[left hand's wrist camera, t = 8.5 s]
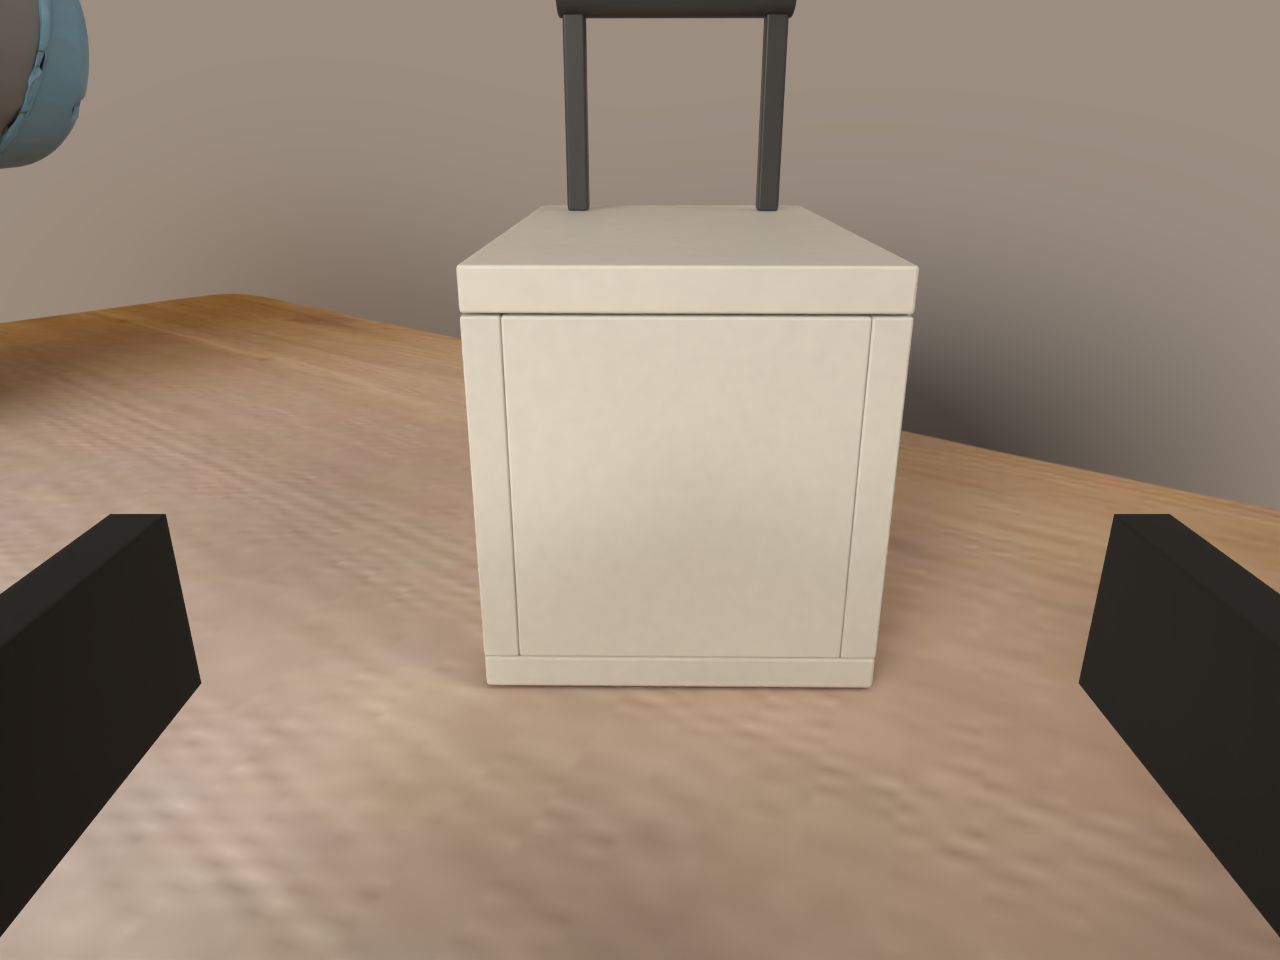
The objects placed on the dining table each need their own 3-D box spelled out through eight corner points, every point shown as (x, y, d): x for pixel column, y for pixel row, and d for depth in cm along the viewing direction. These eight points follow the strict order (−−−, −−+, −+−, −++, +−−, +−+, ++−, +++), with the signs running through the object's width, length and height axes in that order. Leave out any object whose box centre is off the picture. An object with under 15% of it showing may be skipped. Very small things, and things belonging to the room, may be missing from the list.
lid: (543, 233, 33) (532, -47, 30) (799, 233, 33) (816, -48, 30) (459, 313, 19) (420, -214, 15) (914, 315, 18) (974, -217, 15)
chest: (549, 471, 36) (540, 237, 32) (787, 473, 35) (802, 237, 32) (486, 686, 22) (459, 316, 19) (872, 689, 22) (914, 317, 18)
